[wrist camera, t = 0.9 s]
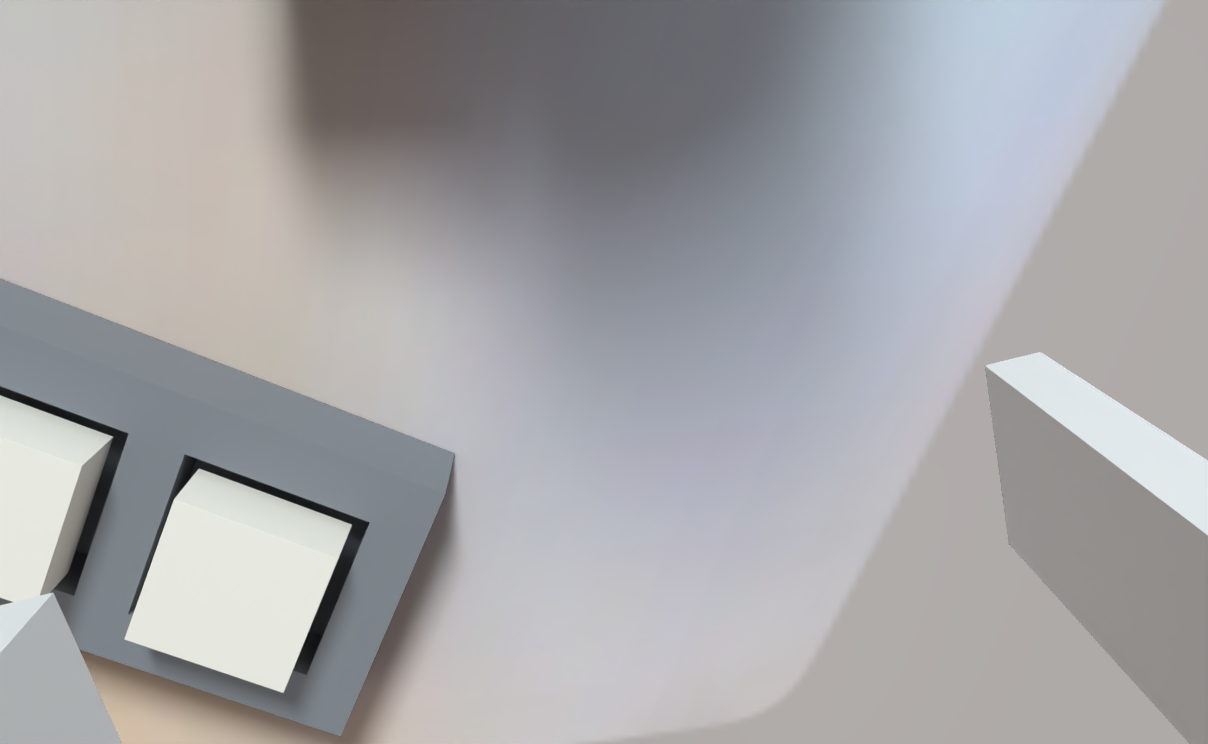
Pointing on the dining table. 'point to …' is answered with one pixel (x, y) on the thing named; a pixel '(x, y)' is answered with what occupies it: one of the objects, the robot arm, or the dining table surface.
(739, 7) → the dining table surface
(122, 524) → the board
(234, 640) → the button
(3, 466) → the button
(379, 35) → the dining table surface
